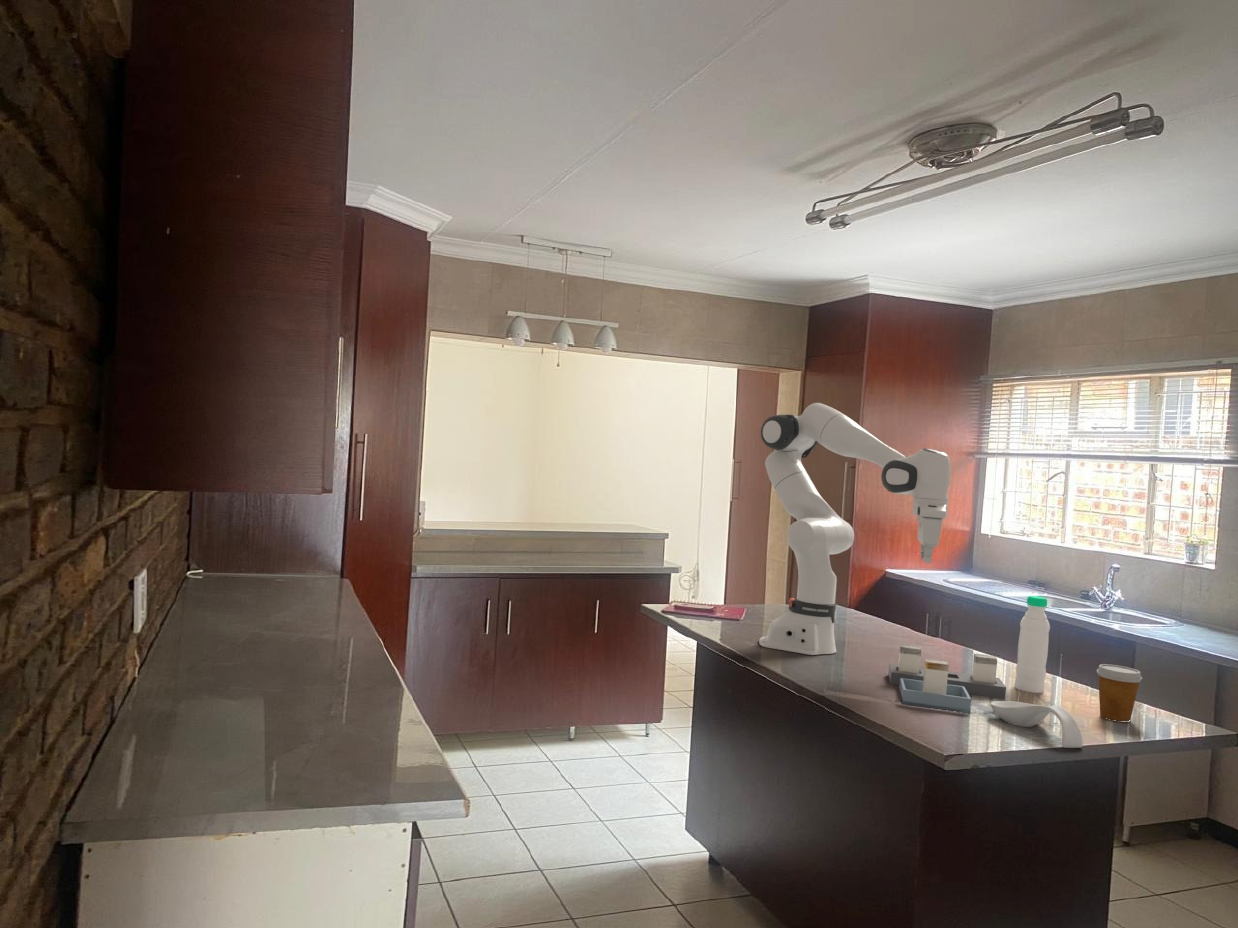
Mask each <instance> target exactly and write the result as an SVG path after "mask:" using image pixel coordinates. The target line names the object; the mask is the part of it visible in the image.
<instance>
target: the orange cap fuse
mask: <svg viewBox="0 0 1238 928" xmlns="http://www.w3.org/2000/svg"><path fill="white" fill-rule="evenodd" d="M923 668H924V678H923V690H922V692H929V693H936V694H944V695H946V690H947V678H948V671H949V662H948V661H946V660H945V661H943V660H937V659H930V658H929V659H928V658H925V659H924V667H923Z"/></svg>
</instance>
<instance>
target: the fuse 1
mask: <svg viewBox="0 0 1238 928" xmlns="http://www.w3.org/2000/svg"><path fill="white" fill-rule="evenodd" d="M921 658H922V647H921V646H916V645H907V644H899V650H898V663H897V665H898V671H904V672H911V673H919V672H920V668H921Z"/></svg>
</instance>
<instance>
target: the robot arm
mask: <svg viewBox="0 0 1238 928" xmlns="http://www.w3.org/2000/svg"><path fill="white" fill-rule="evenodd" d="M760 437H761V438H760V439H761V440H762V442H763V444H764V445H765V446H767V447H768V448H769V449H770V448H771V449H772V450H773V451H772V452H770V453H769V454H768V456H767V457H766V459H765V463H764V466H765V469H766V470H765V471H766V473H767V475H768V479H769V480H770V483H771V485H772V487H773V489H774V491H775V493H776V495H777V497H778V499H779V500H780V502H781V504H782V507H783V508H784V509H785V512H787V514H789V515H790V516H791V517H793V518H794V519H795V520H796V521H794V522H793V523H791V524H790V526H789V527H788V529H787V533H786V539H787V540H786V541H787V543H788V546H789V547H790V548H791V550H792V552H793V553H794V556H795V560H796V566H797V570H798V571H797V573H798V575H797V576H798V578H797V591H796V593H797V594H796V595H797V596H796V598H794V597H791V598H789V600H788V610H789V611H786V612H785V613H783V614H782V615H780V616H779V617H777V618H776V619H774V620H773V621H771V623H769V624H770V625H769V627H768V630H767V632H766V633H767V634H766V635H764V636H761V637H760V638H759V640H758V641H759V642H758V643H759V645H760V646H761V647H764V648H768V649H774V650H781V651H785V652H792V653H797V654H803V655H809V656H810V655H811V656H815V655H816V656H817V655H830V654H835V653H837V647H836V640H835V622H836V618H837V617H836V616H837V604H836V596H837V595H836V593H837V582H838V577H837V575H836V574H835V572H834V571H833V569H832V565H831V560H830V559H831V558H830V555H837V554H840V553H844V552H845V551H847V550H849V549H850V548H851V546H853V544H854V541H855V532H854V528H853V526H851V524H850V523H848V522H847V521H846V520H844V519H843V518H842V517H841V516H839V515H838V514H837V512H835V510H834V509H833V508H832V507H831V506H830V505H829V503H827V501H826V500H825V499H824V498H823V496H821V494H820V493H819V491H818V489H817V488H816V485H815V484H814V482H813V481H812V479H811V477H810V475H809V474H808V472H807V470H806V468H805V467H804V465H803V463H802V459H804V458H807V457H809V455H810V454H811V452H813V450H815V449H816V448H817V446H818V445H819V444H820V445H821V446H822V447H824V448H825V449H827V450H828V451H831V452H832V453H835V454H837V455H839V456H842V457H847V458H854V459H859V460H863V461H864V460H865V461H868V462H871V463H873V464H876V465H877V466H879V467H880V468H882V471H881V477H880V479H881V484H882V485H883V487H884V489H886V491H888V492H889V493H893V494H894V495H895V494H896V495H904V496H905V495H906V496H913V503H912V512H911V514H912V515H913V516H916V522H918V526H917V528H918V529H917V535H916V536H917V538H916V539H917V541H918V542H919V543H920V555H919V556H920V559H922V560H923V562H924V564H925V563H926V564H931V563H932V556H933V554H934V553H933V552H934V548H937V547H938V545H939V543H940V537H941V533H942V527H943V522H944V521H943V520H945V519H946V518H948V507H949V495H948V490H949V487H950V483H951V460H950V456H949V455H948V454H947V453H946V452H944V451H940V450H937V449H931V448H921V449H920V450H918V451H917V452H916V453H914V454H911V455H909V456H907V455H905V454H903V453H901V452H900V451H898V450H896V449H895V448H893V447H892V446H890V445H888V444H886V443H884V441H882V440H880V439H878V438H877V437H875V436H874V435H873V434H871V433H870V432H869V431H868V430H867V429H865V428H863V427H862V426H861V425H859V424H858V423H857V422H856V421H854V420H853V419H852V418H850V417H849V416H848V415H846V414H844V413H842V412H841V411H839V410H837V409H835V408H833V407H831V406H829V405H826V404H824V403H821V402H813V403H812V404H811V403H810V404H809V405H808V406H807V407H806V408H805V409H804V410H803V412H802V414H800V415H793V414H776V415H772V416H770V417H768V418H766V419H765V420H764V422H763V423H762V425H761V427H760Z"/></svg>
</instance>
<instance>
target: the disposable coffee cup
mask: <svg viewBox="0 0 1238 928" xmlns="http://www.w3.org/2000/svg"><path fill="white" fill-rule="evenodd" d="M1096 673H1097V677H1098V694H1099V695H1098V697H1099V716H1100V717H1101V718H1102V717H1103V718H1102V719H1104V718H1107V719H1110V720H1116V721H1129V720H1130V721H1131V719H1132V714H1133V710H1134V706H1135V702H1136V699H1137V694H1138V690H1139V686H1140V685H1139V684H1140V682H1141V681H1142V679H1143V676H1142V675H1141V671H1140V670H1138V669H1135V668H1133V667H1132V668H1131V667H1128V666H1125V665H1124V666H1122V665H1116V664H1110V663H1109V664H1106V663H1102V664H1099V665H1098V667H1097V669H1096ZM1107 719H1106V720H1107ZM1110 720H1109V721H1110Z"/></svg>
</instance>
